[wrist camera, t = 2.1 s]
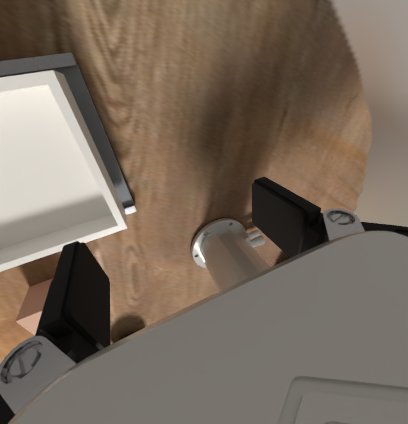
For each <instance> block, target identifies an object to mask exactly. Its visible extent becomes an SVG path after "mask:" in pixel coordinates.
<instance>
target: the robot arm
mask: <svg viewBox="0 0 408 424" xmlns="http://www.w3.org/2000/svg"><path fill="white" fill-rule="evenodd" d="M320 211H321V208H320V207H318V206H316V205H314V204H312V203H311V202H309V201H307V200H305V199H304V198H302V197H300V196H298V195H296V194H295V193H293V192H291V191H289V190H287V189H286V188H284V187H282V186H280V185H279V184H277V183H275V182H273V181H271V180H270V179H268V178H266V177H262V178H259V179H256V180H254V183H253V184H252V221H253V223H254V225H255V226H256V227H258V228H259V229H260V230H261V231H262V232H263V233H264V234H265V235H266V236H267V237H268V238H269V239H271V240H272V241H273V242H274V243H275V244H276V245H277V246H278V247H279V248H280V249H281V250H282V251H283V252H285V253H286V254H287V255H288V256H289V257H290V259H287V260H285V261H283V262H281V263H279V264H277V265H275V266H273V267H270V266H269V265H268V264H267V263H266V262H265V261H264V260H263V258H262V257H261V256H260V255H259V254H258V253H257V252H256V251H255V250H254V249H253V248H254V247H256V246H260V245H262V244H264V243H265V239H264V238H263V236H260V233H259V231H258V230H255V231H252V232H251V233H246V231H245V229H244V227H243V226H242V225H241V223H239V222H238V221H237V220H234V219H230V218H222V219H218V220H215V221H213V222H211V223H209V224H207V225H206V226H205V227H203V228H202V229H201V230H200V231H199V232H198V234H197V235H196V236H195V238H194V240H193V242H192V246H191V254H192V257H193V259H194V261H195V262H196V264H198V265H199V266H201V267H204V268H207V269H208V271H209V273H210V275H211V277H212V278H213V280H214V282H215V284H216V286H217V287H218V289H219V291H220V292H218V293H216V294H214V295H212V296H209V297H207V298H205V299H203V300H201V301H199V302H197V303H195V304H193V305H191V306H189V307H187V308H184V309H182V310H180V311H178V312H176V313H174V314H172V315H170V316H168V317H166V318H164V319H162V320H160V321H158V322H155V323H153V324H151V325H149V326H147V327H145V328H143V329H141V330H139V331H137V332H135V333H133V334H131V335H129V336H127V337H125V338H123V339H121V340H119V341H117V342H115V343H113V344H111V345H110V282H109V278H108V276H107V275H106V274H105V272H104V271H103V269H102V268H101V266H100V265H99V263H98V262H97V260H96V259H95V257H94V256H93V254H92V253H91V252H90V250H89V249H88V247H87V246H86V244H85V243H84V242H82V243H80V242H79V241H75V242H73V243H70V244H67V245H64V246H63V248H62V252H61V255H60V259H59V262H58V266H57V269H56V273H55V276H54V279H53V280H52V281H51V284H50V287H49V290H48V294H47V297H46V300H45V304H44V307H43V310H42V314H41V317H40V320H39V324H38V327H37V330H36V334H35V336H34V337H31V338H29V339H27V340H25V341H23V342H22V343H20V344H19V345H18V346H16V347H15V348H14V349H13V350H12V351H11V352H10V353H9V354H8V355H7V356H6V357H5V358H4V360H3V361H2V363H1V364H0V424H408V227H402V226H394V225H386V224H377V223H367V222H360V220H359V218H358V217H357V216H356V215H355V214H354V213H352V212H350V211H347V210H343V209H329V210H327V211H325V212H324V214H322V213H320ZM257 236H258V237H257ZM255 237H256V238H255ZM252 238H254V239H252ZM251 239H252V240H251Z"/></svg>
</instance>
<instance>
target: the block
mask: <svg viewBox="0 0 408 424" xmlns="http://www.w3.org/2000/svg"><path fill="white" fill-rule="evenodd" d="M53 279H54V278H52V279H49V280H47V281H44V282H41V283H38V284H36V285H33V286H30V287H29V289H28V292H27V294H26V297H25V299H24V302H23V304H22V307H21V309H20V312H19V314H18V317H17V319H16V322H17V323H18V324H20V325H21V326H22V327H24V328H25V329H27V330H28V331H29V332H31V333H32V334H33V335H35V334H36V330H37V327H38V324H39V320H40V317H41V314H42V310H43V307H44V304H45V300H46V297H47V294H48V290H49V287H50V284H51V281H52V280H53Z"/></svg>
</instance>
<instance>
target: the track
mask: <svg viewBox="0 0 408 424" xmlns="http://www.w3.org/2000/svg"><path fill="white" fill-rule="evenodd" d="M51 70H54V71H57V72H59V73H62V74H64V77H65V79H66V81H67V83H68V85H69V88H70V90H71V92H72V94H73V96H74V99H75V101H76V103H77V105H78V108H79V110H80V112H81V114H82V116H83V119H84V121H85V123H86V125H87V128H88V130H89V132H90V134H91V136H92V139H93V141H94V143H95V145H96V148H97V150H98V152H99V154H100V156H101V159H102V161H103V163H104V165H105V168H106V170H107V172H108V174H109V176H110V179H111V181H112V183H113V185H114V187H115V190H116V192H117V194H118V196H119V199H120V201H121V203H122V205H123V207H124V210H125V213H126V215H127V214H130V213H133V212H136V207H135V204H134V201H133V199H132V197H131V194H130V192H129V189H128V187H127V184H126V182H125V179H124V177H123V174H122V172H121V170H120V167H119V165H118V162H117V160H116V157H115V155H114V152H113V150H112V147H111V145H110V143H109V140H108V138H107V135H106V133H105V130H104V128H103V125H102V123H101V120H100V118H99V115H98V113H97V111H96V108H95V106H94V103H93V101H92V98H91V96H90V93H89V91H88V88H87V86H86V84H85V81H84V79H83V76H82V74H81V71H80V69H79V66H78V64H77V61H76V59H75V57H74V55H73V54H72V53H71V52H70V53H62V54H54V55H46V56H38V57H30V58H22V59H14V60H6V61H0V78H1V77H8V76H15V75H22V74H29V73H36V72H43V71H51Z"/></svg>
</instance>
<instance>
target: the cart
mask: <svg viewBox="0 0 408 424" xmlns="http://www.w3.org/2000/svg"><path fill="white" fill-rule="evenodd" d="M124 229H127V221H126V213H125V210H124V207H123V205H122V203H121V201H120V199H119V196H118V194H117V192H116V190H115V187H114V185H113V183H112V181H111V179H110V176H109V174H108V172H107V170H106V168H105V165H104V163H103V161H102V159H101V156H100V154H99V152H98V150H97V148H96V145H95V143H94V141H93V139H92V136H91V134H90V132H89V130H88V128H87V125H86V123H85V121H84V119H83V116H82V114H81V112H80V110H79V108H78V105H77V103H76V101H75V99H74V96H73V94H72V92H71V90H70V88H69V85H68V83H67V81H66V79H65V77H64V74H62V73H59V72H57V71H54V70H51V71H43V72H36V73H29V74H22V75H15V76H8V77H1V78H0V272H1V271H4V270H7V269H10V268H13V267H16V266H18V265H21V264H24V263H27V262H30V261H33V260H36V259H39V258H42V257H45V256H48V255H51V254H54V253H57V252H59V251H62V248H63V246H64V245H67V244H70V243H73V242H75V241H79V242H80V243H82V242H84V243H86V242H89V241H92V240H95V239H97V238H100V237H103V236H106V235H109V234H112V233H115V232H118V231H121V230H124Z"/></svg>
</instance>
